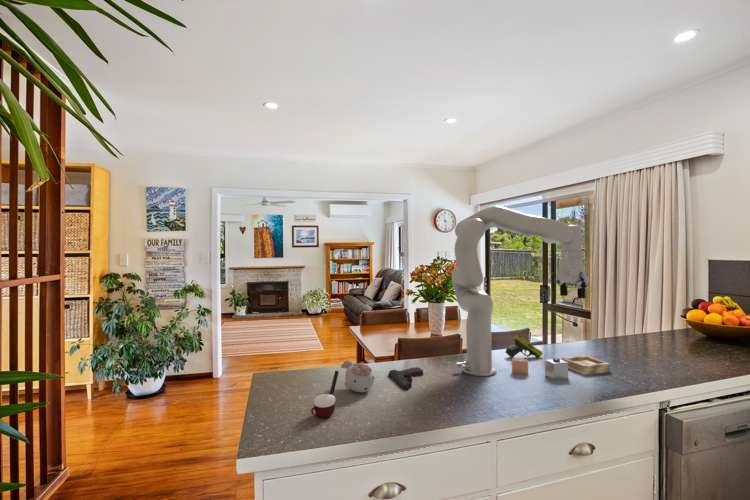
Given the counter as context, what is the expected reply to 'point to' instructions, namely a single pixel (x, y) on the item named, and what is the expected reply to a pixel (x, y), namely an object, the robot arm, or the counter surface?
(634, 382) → the counter surface
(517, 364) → the tan square block
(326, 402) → the cocoa
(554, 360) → the housing
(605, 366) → the wooden tray
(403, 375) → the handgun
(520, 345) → the toy gun
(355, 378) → the toy
